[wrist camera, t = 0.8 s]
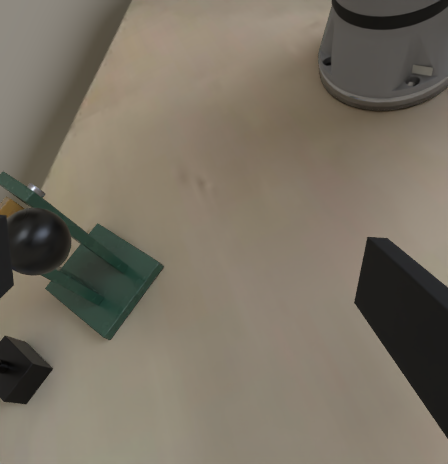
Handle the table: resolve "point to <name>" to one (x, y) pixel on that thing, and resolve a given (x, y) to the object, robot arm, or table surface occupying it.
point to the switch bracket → (94, 269)
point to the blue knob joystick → (20, 371)
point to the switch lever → (35, 238)
